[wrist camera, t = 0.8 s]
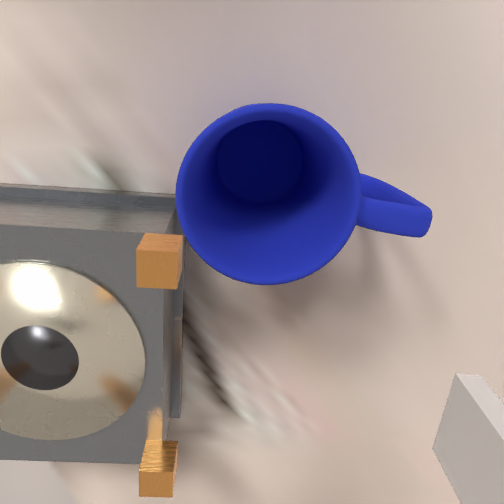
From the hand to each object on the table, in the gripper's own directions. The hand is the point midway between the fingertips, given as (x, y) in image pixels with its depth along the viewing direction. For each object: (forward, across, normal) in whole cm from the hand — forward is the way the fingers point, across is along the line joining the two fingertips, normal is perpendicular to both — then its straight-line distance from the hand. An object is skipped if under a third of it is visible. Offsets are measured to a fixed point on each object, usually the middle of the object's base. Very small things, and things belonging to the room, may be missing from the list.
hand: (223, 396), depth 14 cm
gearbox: (+19, -10, -8) cm, 23 cm away
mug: (+19, +3, +3) cm, 20 cm away
